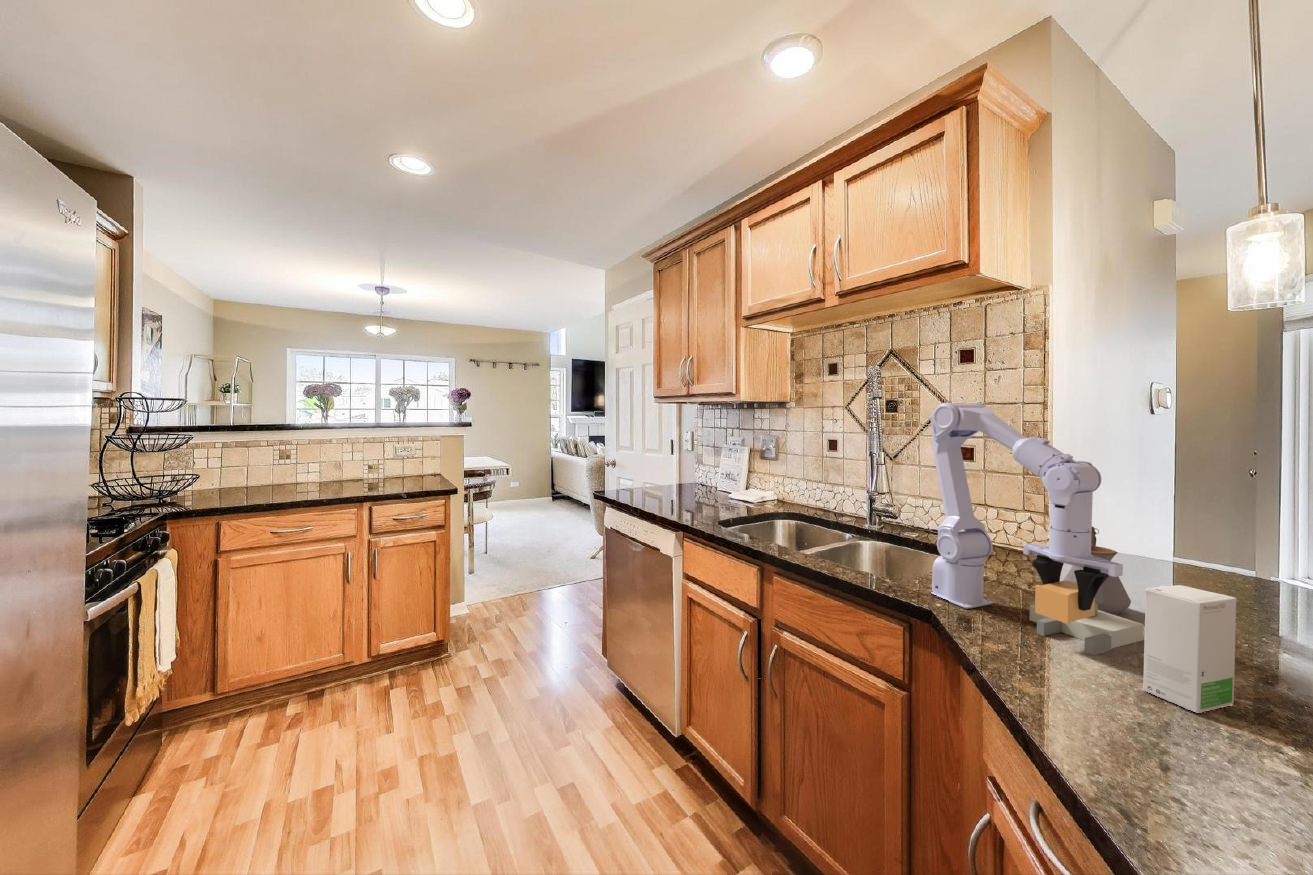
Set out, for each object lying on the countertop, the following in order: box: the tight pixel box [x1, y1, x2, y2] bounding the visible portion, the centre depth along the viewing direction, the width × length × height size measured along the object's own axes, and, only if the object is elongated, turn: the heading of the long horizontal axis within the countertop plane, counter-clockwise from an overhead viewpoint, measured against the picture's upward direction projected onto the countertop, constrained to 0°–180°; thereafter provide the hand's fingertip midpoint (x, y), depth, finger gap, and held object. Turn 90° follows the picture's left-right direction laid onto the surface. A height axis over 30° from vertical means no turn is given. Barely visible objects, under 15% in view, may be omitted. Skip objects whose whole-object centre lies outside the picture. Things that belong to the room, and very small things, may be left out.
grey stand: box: [1029, 602, 1144, 656], centre depth 91 cm, size 13×15×5 cm
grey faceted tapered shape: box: [1062, 526, 1132, 616], centre depth 106 cm, size 21×12×15 cm, turn 139°
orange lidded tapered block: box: [1034, 579, 1095, 624], centre depth 86 cm, size 5×8×5 cm
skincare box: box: [1142, 584, 1237, 714], centre depth 69 cm, size 8×7×16 cm
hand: (1068, 603), depth 87 cm, fingers closed on orange lidded tapered block, 4 cm apart
